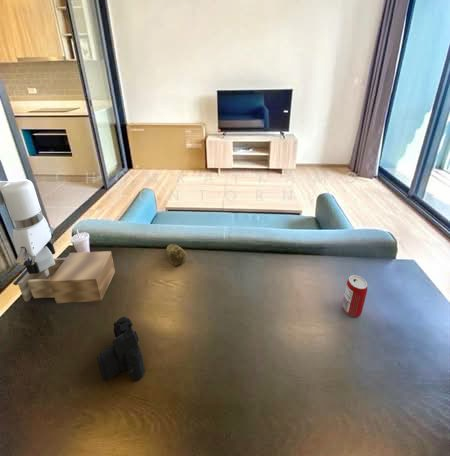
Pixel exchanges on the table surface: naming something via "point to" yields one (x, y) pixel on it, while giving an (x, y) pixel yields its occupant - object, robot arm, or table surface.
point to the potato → (176, 255)
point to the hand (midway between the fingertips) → (42, 262)
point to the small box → (44, 259)
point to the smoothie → (81, 241)
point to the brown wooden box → (83, 277)
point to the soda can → (354, 296)
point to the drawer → (37, 282)
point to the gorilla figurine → (122, 353)
